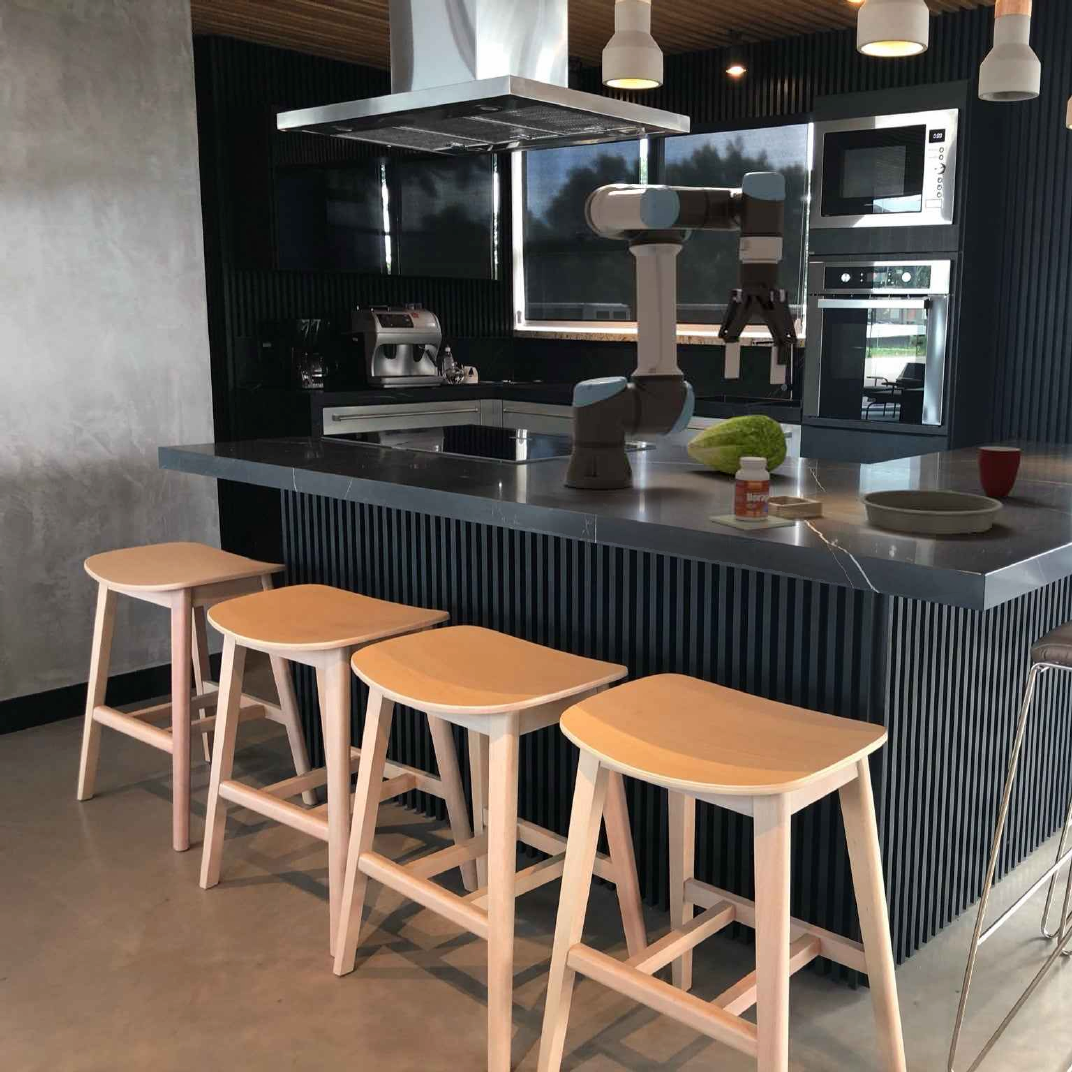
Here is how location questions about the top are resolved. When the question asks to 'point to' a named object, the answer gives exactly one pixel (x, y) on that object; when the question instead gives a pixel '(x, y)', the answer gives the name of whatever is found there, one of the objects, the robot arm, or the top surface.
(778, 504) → the pocket frame
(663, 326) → the robot arm
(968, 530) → the cake pan
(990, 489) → the mug
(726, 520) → the coaster
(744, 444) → the lettuce
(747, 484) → the pill bottle
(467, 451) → the top surface
